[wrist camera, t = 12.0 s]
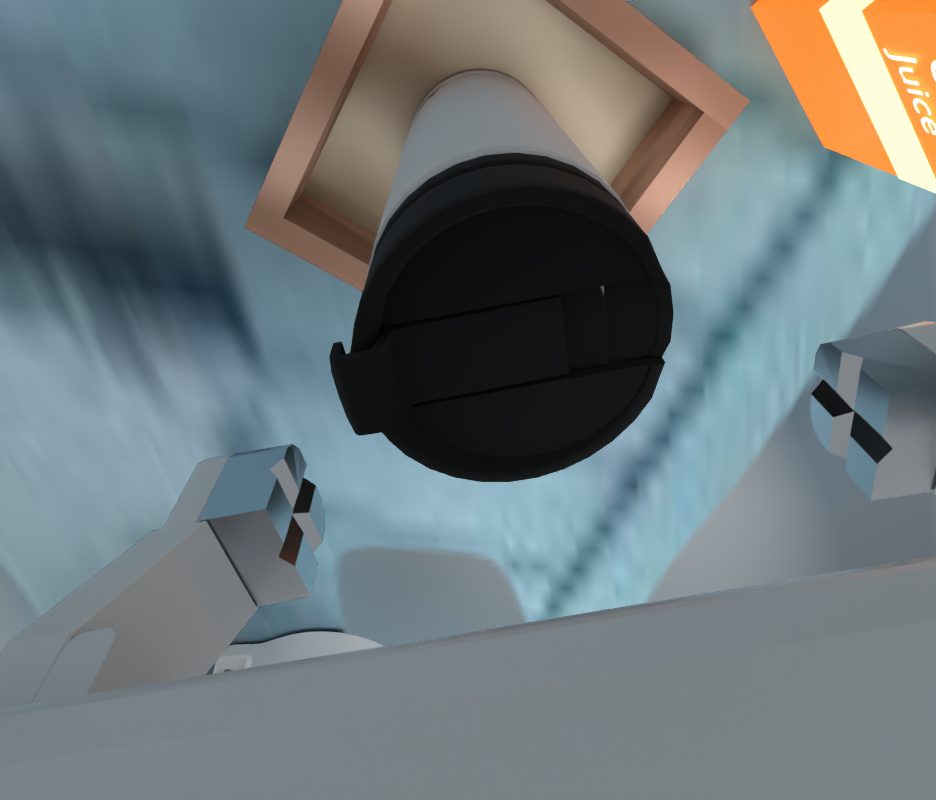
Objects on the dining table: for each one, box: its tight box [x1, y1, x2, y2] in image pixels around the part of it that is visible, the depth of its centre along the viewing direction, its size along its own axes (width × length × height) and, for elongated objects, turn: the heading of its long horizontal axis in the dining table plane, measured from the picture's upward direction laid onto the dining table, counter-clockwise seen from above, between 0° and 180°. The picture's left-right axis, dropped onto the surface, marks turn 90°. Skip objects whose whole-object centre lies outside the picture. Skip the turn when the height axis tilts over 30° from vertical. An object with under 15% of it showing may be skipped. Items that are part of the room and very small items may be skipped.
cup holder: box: [244, 0, 750, 291], centre depth 27 cm, size 15×15×6 cm
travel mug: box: [330, 68, 673, 482], centre depth 20 cm, size 6×7×20 cm
